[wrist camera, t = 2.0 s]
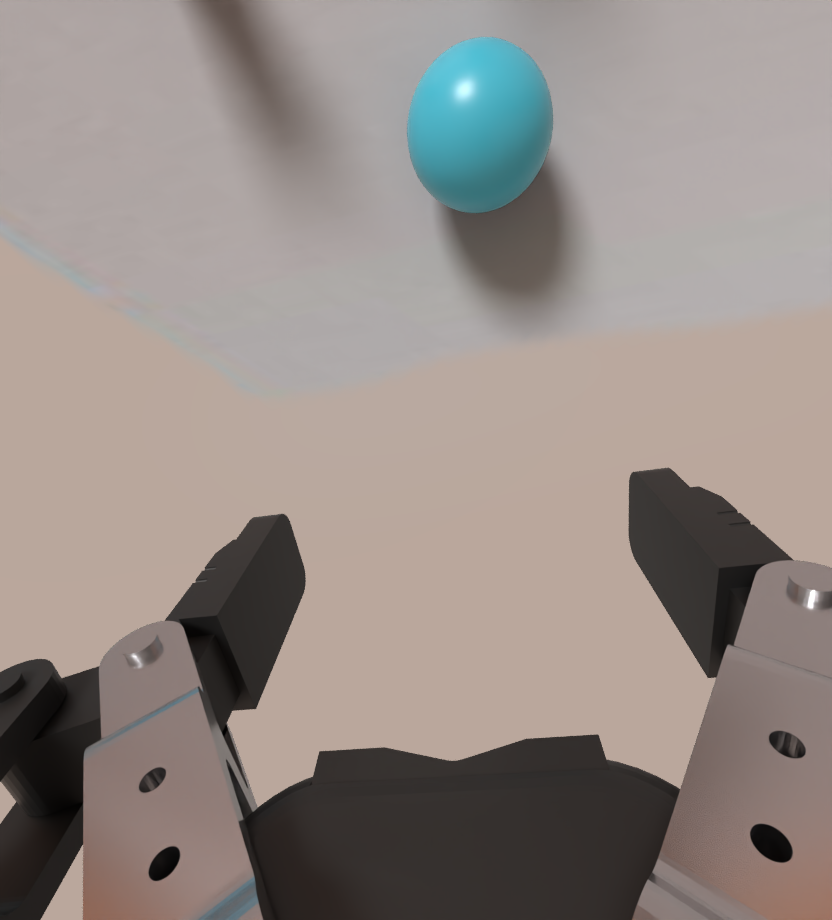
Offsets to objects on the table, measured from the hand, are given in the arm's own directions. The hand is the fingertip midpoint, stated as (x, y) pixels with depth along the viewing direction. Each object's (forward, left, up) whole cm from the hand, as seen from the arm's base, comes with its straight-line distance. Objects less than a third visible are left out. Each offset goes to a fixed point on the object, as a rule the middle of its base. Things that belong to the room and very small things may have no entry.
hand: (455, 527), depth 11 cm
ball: (-6, -8, -15) cm, 18 cm away
